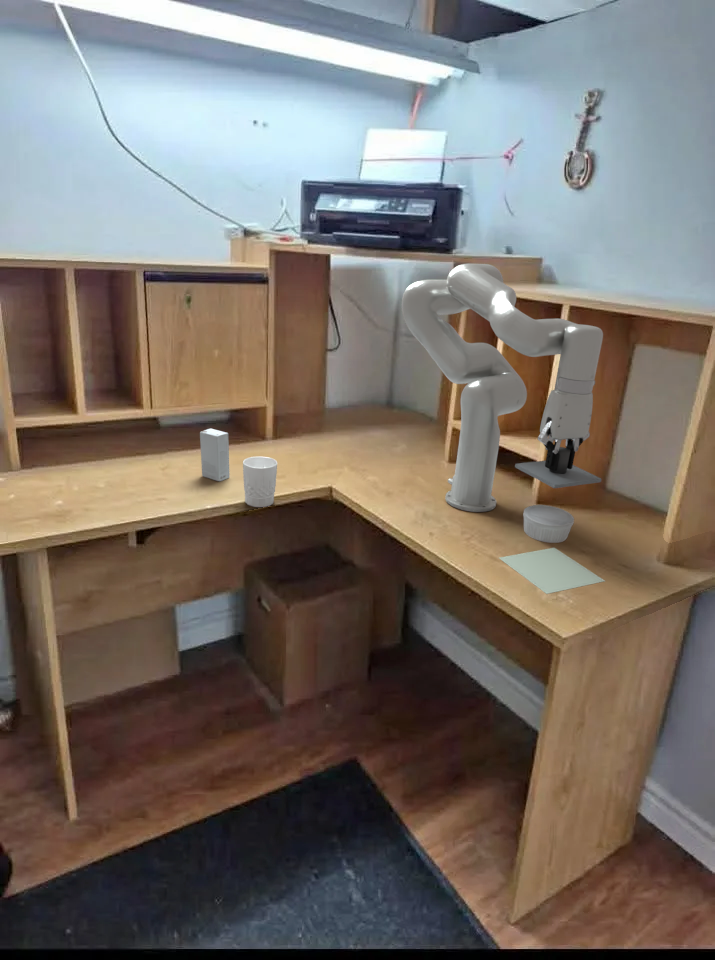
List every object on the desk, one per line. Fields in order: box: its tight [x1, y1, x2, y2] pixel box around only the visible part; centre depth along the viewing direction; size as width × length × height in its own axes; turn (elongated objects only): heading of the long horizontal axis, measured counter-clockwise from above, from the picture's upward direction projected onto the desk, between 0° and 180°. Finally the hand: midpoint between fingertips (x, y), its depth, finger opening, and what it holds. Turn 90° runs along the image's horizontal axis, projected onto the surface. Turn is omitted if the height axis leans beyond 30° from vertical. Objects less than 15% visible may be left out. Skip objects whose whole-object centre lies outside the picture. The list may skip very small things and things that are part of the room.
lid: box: [514, 446, 602, 489], centre depth 145 cm, size 13×13×6 cm
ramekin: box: [522, 504, 575, 544], centre depth 151 cm, size 11×11×5 cm
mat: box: [498, 547, 606, 595], centre depth 135 cm, size 15×15×1 cm
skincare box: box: [199, 428, 231, 482], centre depth 168 cm, size 6×4×12 cm
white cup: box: [242, 456, 278, 508], centre depth 156 cm, size 8×8×10 cm
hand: (558, 467), depth 145 cm, fingers closed on lid, 3 cm apart
